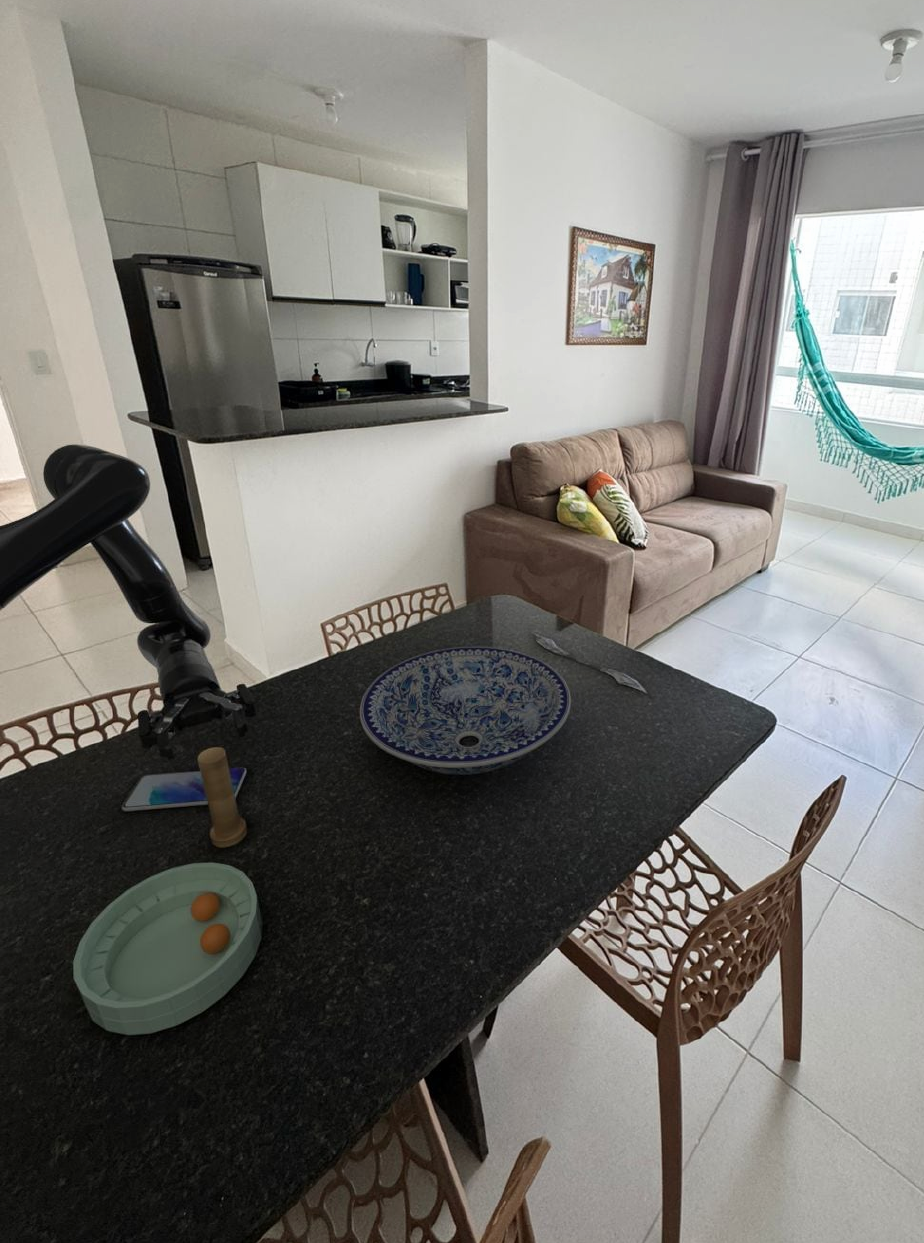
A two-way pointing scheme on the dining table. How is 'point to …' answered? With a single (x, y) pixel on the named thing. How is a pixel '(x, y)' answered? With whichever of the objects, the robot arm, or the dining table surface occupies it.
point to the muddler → (221, 798)
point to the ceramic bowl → (465, 708)
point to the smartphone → (174, 790)
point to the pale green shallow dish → (166, 949)
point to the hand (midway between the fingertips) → (206, 742)
